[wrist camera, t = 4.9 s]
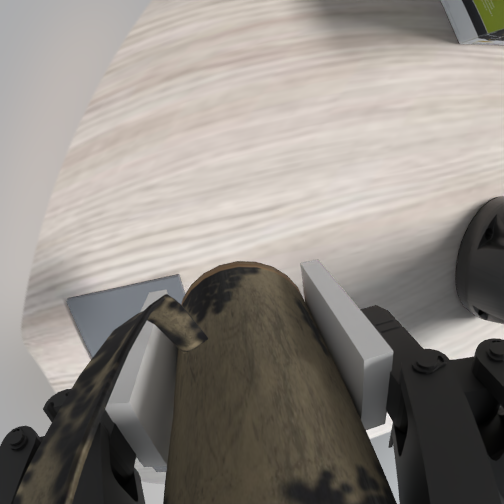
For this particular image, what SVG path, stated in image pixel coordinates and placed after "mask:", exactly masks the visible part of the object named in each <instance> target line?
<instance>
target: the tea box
mask: <svg viewBox="0 0 504 504" xmlns="http://www.w3.org/2000/svg"><path fill="white" fill-rule="evenodd" d="M440 1H441V3H442V5H443V7H444V9H445V12H446V14H447V16H448V18H449V21H450V23H451V25H452V28H453V30H454V32H455V35H456V37H457V39H458V41H459V43H460V44H488V45H504V0H440Z"/></svg>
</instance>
